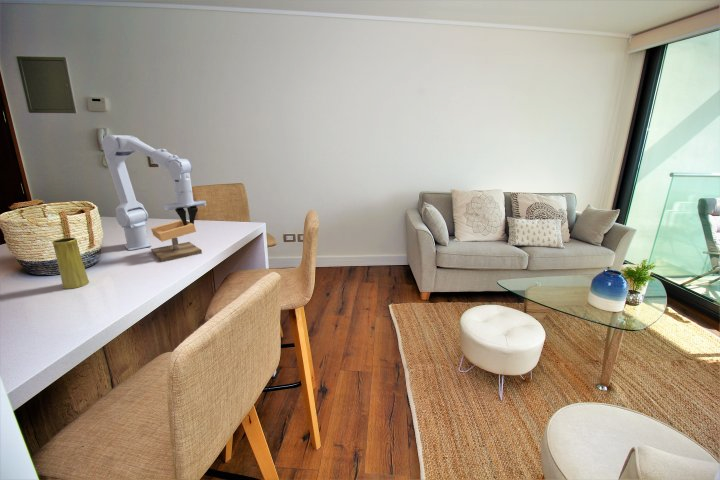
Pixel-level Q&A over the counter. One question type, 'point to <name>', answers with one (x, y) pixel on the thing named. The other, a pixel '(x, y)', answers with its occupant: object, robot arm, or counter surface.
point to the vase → (70, 263)
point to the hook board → (175, 251)
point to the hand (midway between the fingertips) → (188, 226)
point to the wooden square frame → (172, 230)
